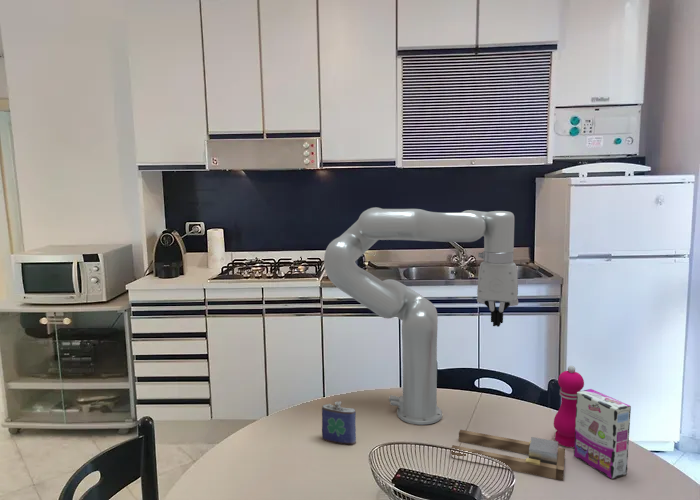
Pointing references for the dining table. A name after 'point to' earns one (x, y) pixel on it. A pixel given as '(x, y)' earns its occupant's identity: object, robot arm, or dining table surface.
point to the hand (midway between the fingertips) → (496, 325)
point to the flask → (338, 424)
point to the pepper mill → (567, 406)
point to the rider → (543, 450)
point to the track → (515, 446)
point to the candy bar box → (602, 432)
